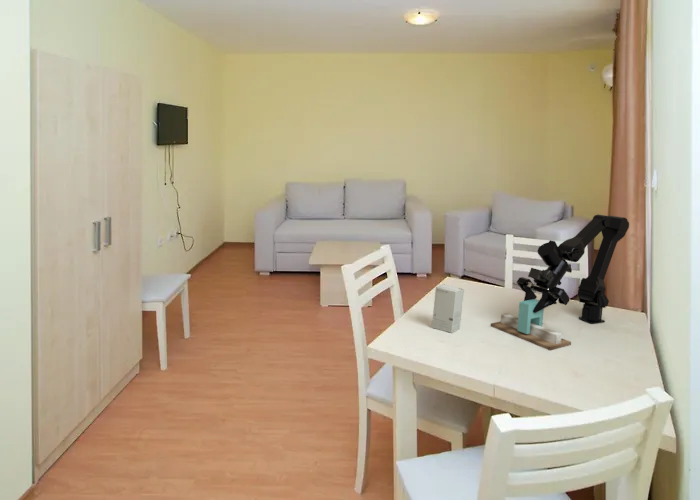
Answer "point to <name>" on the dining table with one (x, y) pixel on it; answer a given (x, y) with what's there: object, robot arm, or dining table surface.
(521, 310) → the teal rectangular block
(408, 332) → the dining table surface
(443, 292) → the skincare box
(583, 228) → the robot arm
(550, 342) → the rail board
